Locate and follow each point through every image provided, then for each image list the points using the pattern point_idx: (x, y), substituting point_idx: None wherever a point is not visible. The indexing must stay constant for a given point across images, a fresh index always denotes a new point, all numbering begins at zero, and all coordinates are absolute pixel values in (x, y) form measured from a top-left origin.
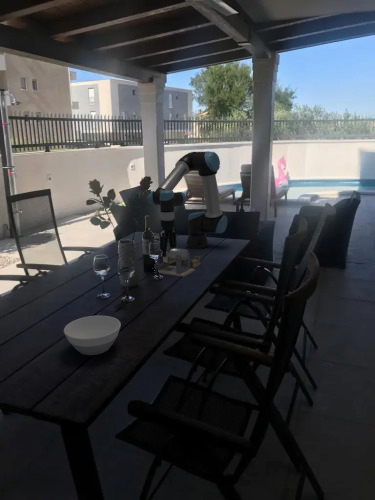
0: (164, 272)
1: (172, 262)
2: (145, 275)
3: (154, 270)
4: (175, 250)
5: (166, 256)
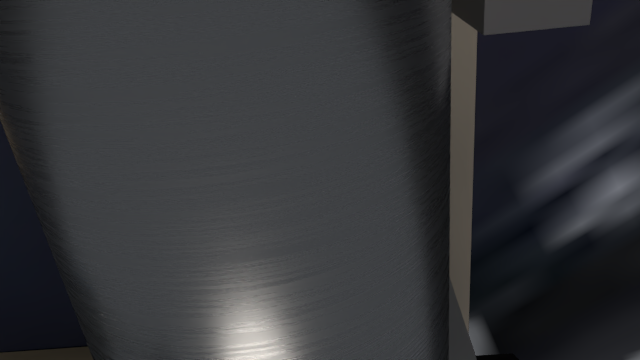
0: (471, 178)
1: (19, 357)
2: (627, 317)
3: (468, 324)
4: (390, 269)
5: (470, 348)
